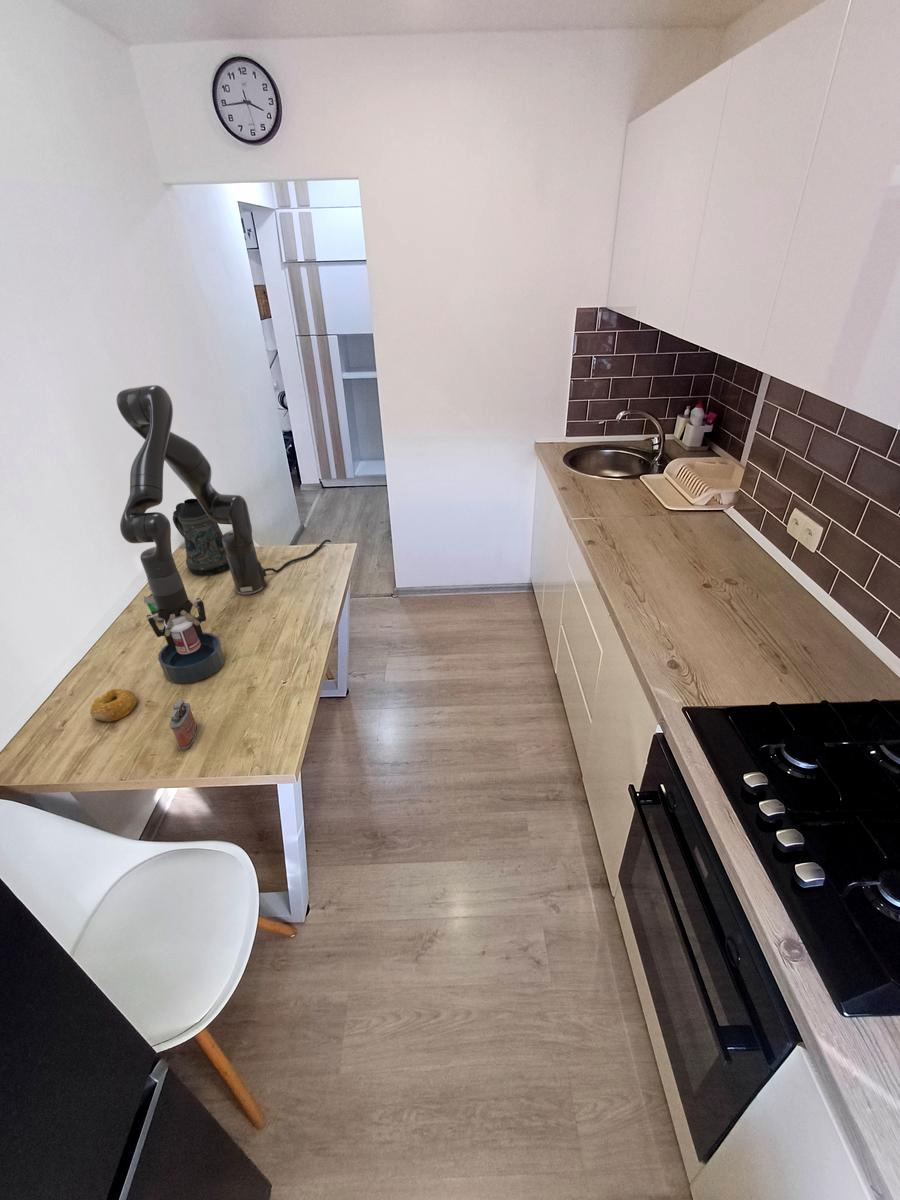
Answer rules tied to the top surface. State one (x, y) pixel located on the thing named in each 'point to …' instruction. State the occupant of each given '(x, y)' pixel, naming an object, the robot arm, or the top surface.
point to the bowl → (192, 660)
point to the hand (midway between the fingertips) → (186, 640)
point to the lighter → (183, 725)
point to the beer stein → (200, 539)
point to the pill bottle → (184, 635)
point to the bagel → (113, 705)
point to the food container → (152, 606)
